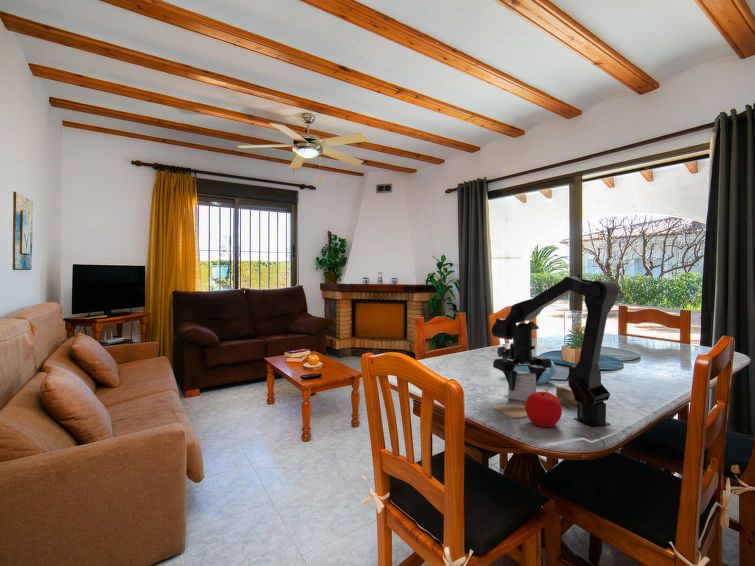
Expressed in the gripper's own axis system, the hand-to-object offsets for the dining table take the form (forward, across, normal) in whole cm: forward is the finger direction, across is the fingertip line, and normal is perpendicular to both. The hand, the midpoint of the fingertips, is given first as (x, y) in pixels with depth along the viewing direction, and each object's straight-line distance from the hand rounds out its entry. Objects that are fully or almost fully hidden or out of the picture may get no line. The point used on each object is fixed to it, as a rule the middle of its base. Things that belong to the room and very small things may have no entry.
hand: (522, 389), depth 120 cm
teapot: (+4, -18, -18) cm, 26 cm away
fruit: (+4, +8, +19) cm, 21 cm away
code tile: (+3, 0, 0) cm, 3 cm away
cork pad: (+3, +8, +8) cm, 12 cm away
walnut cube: (+3, -12, +7) cm, 14 cm away
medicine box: (+3, 0, 0) cm, 3 cm away
